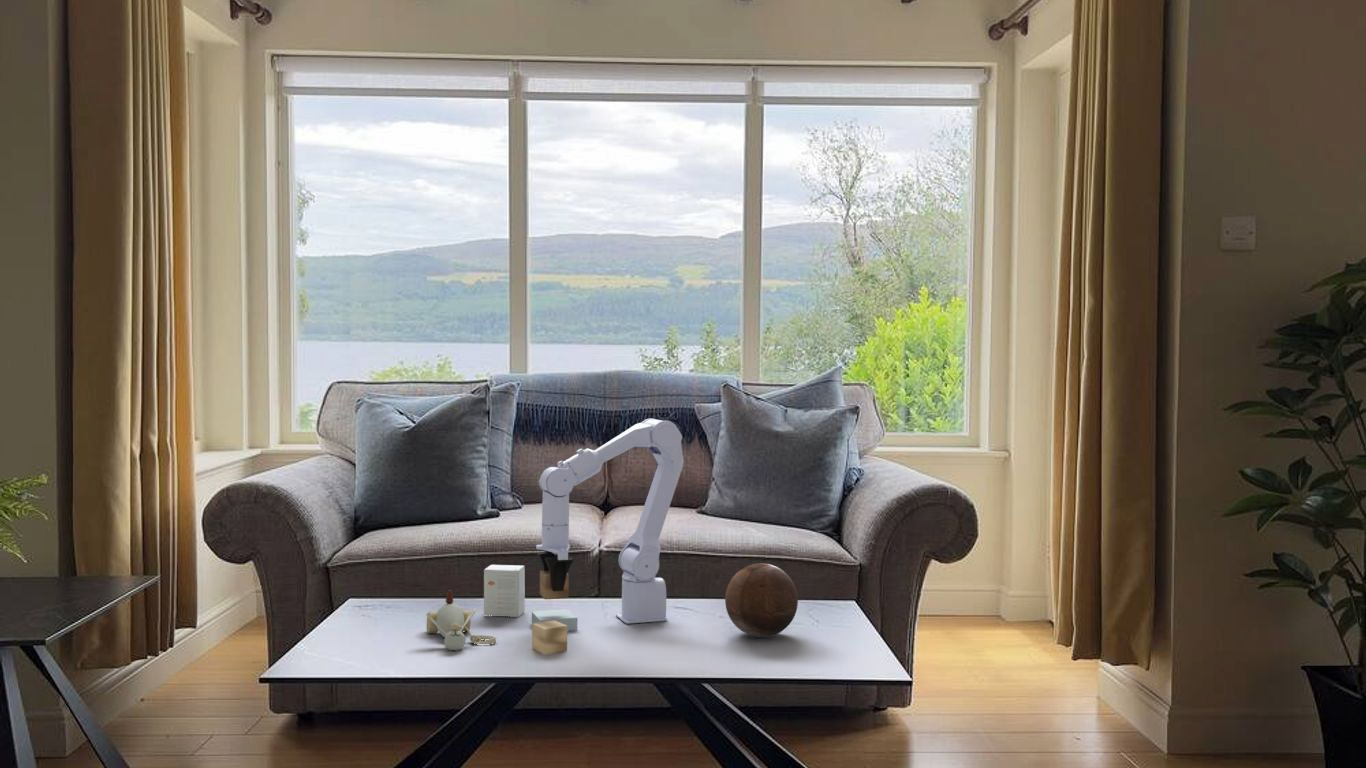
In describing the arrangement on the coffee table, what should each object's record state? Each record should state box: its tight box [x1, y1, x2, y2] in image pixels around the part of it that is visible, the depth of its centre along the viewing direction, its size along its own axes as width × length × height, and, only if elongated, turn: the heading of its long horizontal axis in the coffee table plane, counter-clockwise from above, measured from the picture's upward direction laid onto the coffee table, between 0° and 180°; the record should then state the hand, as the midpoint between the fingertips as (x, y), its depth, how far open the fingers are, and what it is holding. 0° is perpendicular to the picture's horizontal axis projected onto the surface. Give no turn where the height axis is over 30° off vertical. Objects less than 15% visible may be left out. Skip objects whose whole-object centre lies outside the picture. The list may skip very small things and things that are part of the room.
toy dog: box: [425, 589, 497, 651], centre depth 214 cm, size 12×19×9 cm, turn 39°
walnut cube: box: [539, 570, 570, 600], centre depth 224 cm, size 5×5×5 cm
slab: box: [531, 608, 578, 632], centre depth 224 cm, size 8×8×3 cm
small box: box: [483, 564, 526, 618], centre depth 235 cm, size 8×6×10 cm
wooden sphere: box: [724, 562, 799, 638], centre depth 219 cm, size 15×15×15 cm
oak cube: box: [531, 620, 568, 656], centre depth 207 cm, size 5×5×5 cm
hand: (554, 588), depth 224 cm, fingers closed on walnut cube, 5 cm apart
